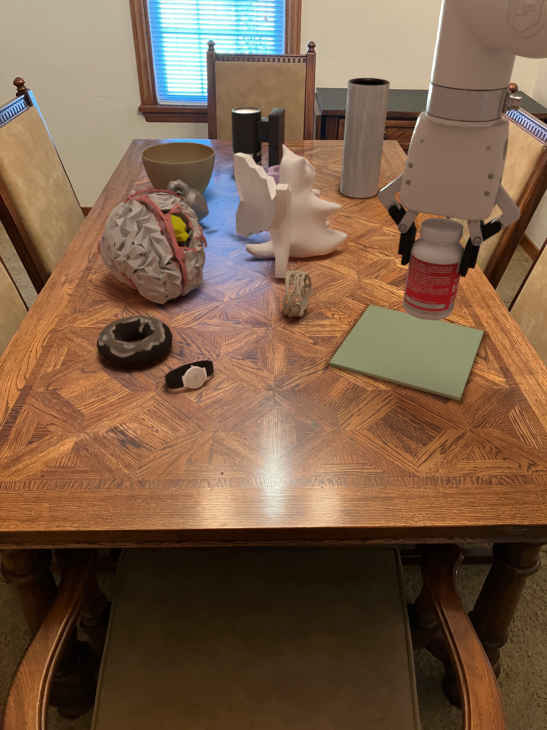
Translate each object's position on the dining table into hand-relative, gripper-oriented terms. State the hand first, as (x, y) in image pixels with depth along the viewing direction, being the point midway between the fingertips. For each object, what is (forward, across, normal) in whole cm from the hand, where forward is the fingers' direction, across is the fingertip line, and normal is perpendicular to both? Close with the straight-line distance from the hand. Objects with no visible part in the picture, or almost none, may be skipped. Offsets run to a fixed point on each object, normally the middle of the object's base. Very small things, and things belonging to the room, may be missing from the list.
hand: (435, 265), depth 68 cm
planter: (+22, +34, -83) cm, 92 cm away
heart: (+22, +62, -42) cm, 78 cm away
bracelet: (+22, +24, -17) cm, 37 cm away
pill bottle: (+6, 0, 0) cm, 6 cm away
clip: (+22, +50, -65) cm, 85 cm away
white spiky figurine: (+22, +35, -40) cm, 58 cm away
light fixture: (+22, +64, -82) cm, 107 cm away
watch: (+22, +31, +8) cm, 39 cm away
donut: (+22, +43, +5) cm, 48 cm away
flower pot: (+22, +74, -58) cm, 96 cm away
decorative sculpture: (+22, +52, -15) cm, 59 cm away
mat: (+22, +4, -14) cm, 26 cm away
